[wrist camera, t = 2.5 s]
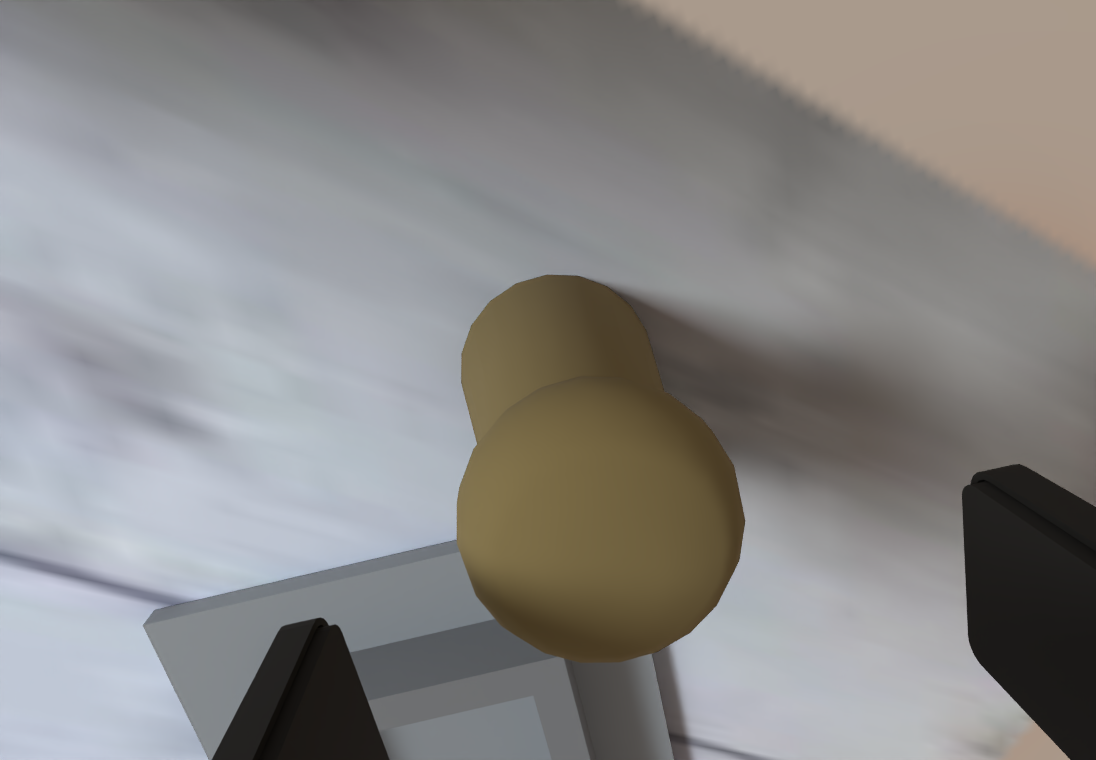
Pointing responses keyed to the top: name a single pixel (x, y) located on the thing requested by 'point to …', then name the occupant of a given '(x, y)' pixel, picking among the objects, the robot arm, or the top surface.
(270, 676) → the robot arm
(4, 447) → the top surface
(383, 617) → the bay base
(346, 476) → the top surface
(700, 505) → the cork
